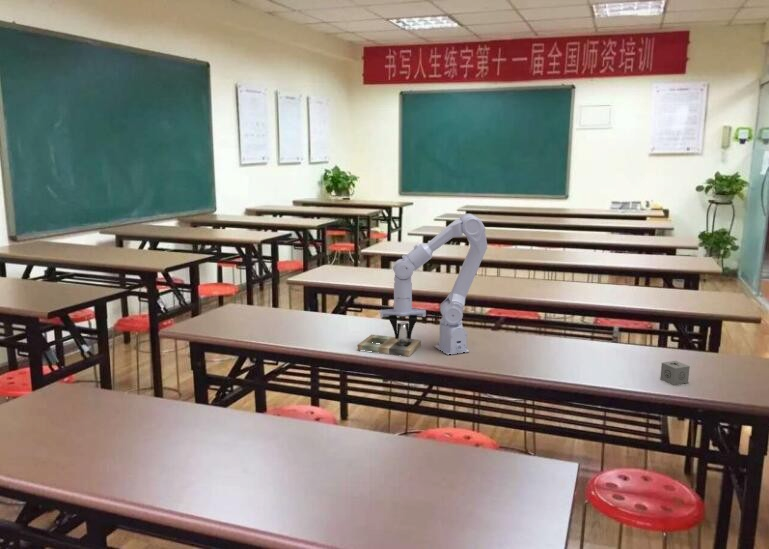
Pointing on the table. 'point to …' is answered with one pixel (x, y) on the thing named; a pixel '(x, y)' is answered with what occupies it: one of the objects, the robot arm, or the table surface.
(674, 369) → the dice cube
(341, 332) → the table surface
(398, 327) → the metal cylinder
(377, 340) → the tool stand
